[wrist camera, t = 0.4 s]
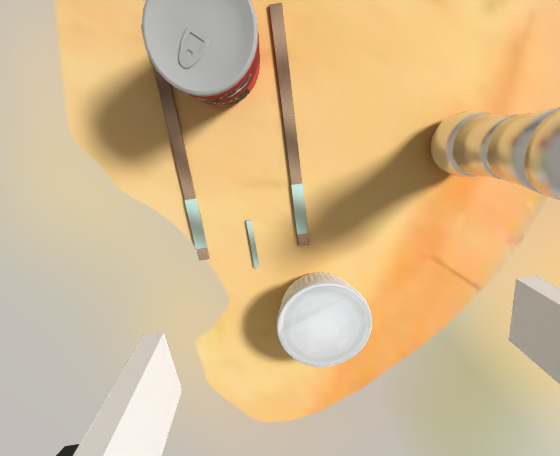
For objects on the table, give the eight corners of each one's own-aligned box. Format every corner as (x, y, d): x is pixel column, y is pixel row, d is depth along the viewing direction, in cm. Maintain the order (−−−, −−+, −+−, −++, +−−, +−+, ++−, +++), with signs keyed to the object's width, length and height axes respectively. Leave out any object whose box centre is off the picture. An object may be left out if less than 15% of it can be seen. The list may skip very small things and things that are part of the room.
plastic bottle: (462, 99, 33) (737, 54, 14) (490, 149, 35) (766, 172, 16) (412, 138, 34) (603, 146, 15) (441, 184, 36) (645, 247, 17)
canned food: (176, 95, 31) (133, 77, 21) (191, 8, 29) (150, -62, 19) (249, 116, 32) (241, 109, 22) (268, 34, 30) (271, -18, 20)
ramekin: (302, 249, 37) (308, 267, 32) (376, 287, 39) (392, 310, 34) (259, 318, 40) (258, 345, 35) (330, 350, 42) (339, 380, 37)
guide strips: (143, 23, 29) (142, 22, 29) (282, 4, 29) (282, 2, 29) (202, 274, 38) (202, 275, 37) (310, 258, 38) (311, 259, 37)
